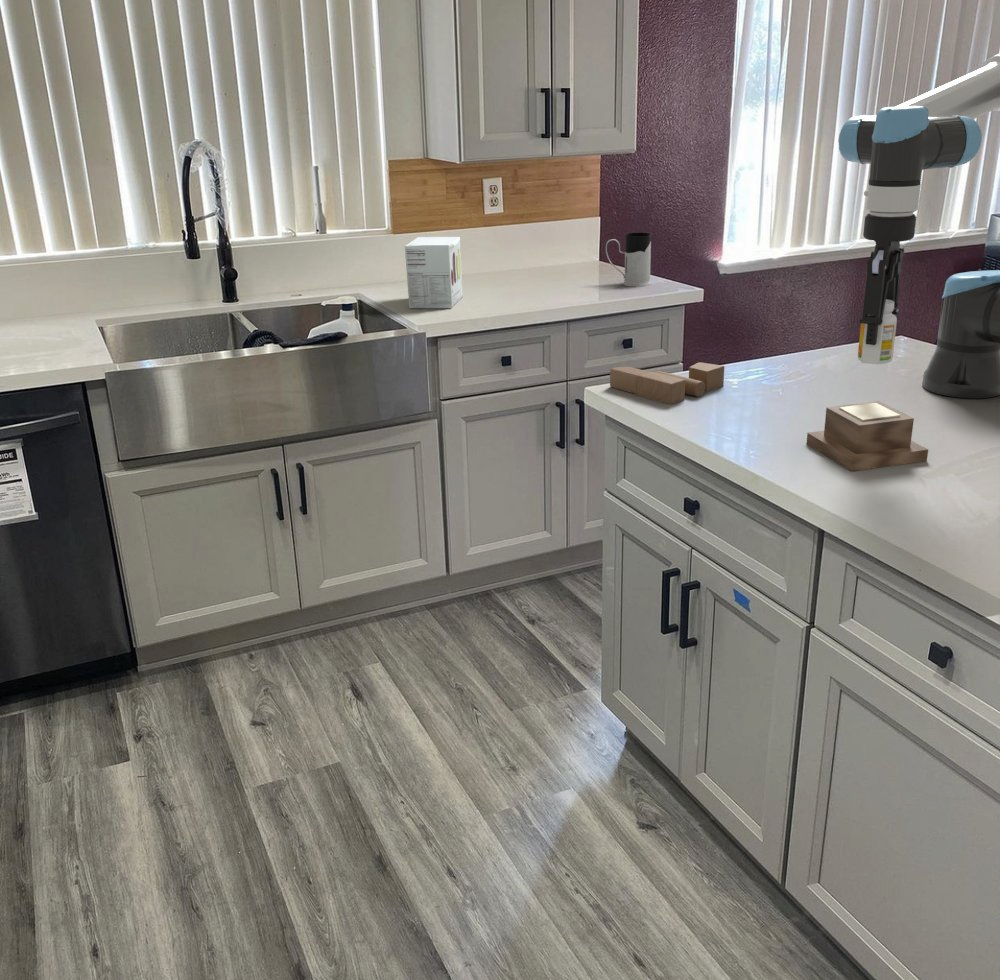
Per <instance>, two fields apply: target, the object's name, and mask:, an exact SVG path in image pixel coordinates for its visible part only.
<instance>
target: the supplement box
mask: <svg viewBox="0 0 1000 980" xmlns="http://www.w3.org/2000/svg"><path fill="white" fill-rule="evenodd" d="M461 251H462V250H461V237H460V236H418V237H416V238H414V239H413V240H412V241H410V242H409V243H407V244H405V245H404V254H405V269H406V280H407V281H406V282H407V293H408V294H407V295H408V307H409V309H452V308H454V306H455V305H457V303H458V302H459V301H460V300H462V298H463V297H464V295H463V294H464V293H463V276H462V275H463V274H462V258H461V257H462V255H461Z"/></svg>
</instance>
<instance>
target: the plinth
mask: <svg viewBox="0 0 1000 980" xmlns="http://www.w3.org/2000/svg"><path fill="white" fill-rule="evenodd" d="M825 409H826V410H825V418H824V429H823V430H818V431H809V432H806V434H807V435H806V444H807V445H808V446H810V447H812V448H813V449H814V450H816V451H817V452H820V453H822V454H823V455H824V456H826V457H827V458H829V459H831V460H833V461H834V462H835V463H837V464H838V465H840V466H842V467H844V468H845V469H847V470H848V471H850V472H856V471H857V472H858V471H862V470H863V471H864V470H871V468H872V469H876V468H877V467H879V468H884V467H883V466H886V467H891V465H893V466H900V465H906V464H914V463H921V462H927V461H928V456H929V448H926V447H925V446H922V445H920V444H919V443H917V442H915V441H913V440H912V436H913V429H914V420H915V418H914V417H912V416H910V415H907V414H906V413H904V412H902V411H900V410H898V409H895V408H893V407H891V406H889V405H887V404H885V403H884V402H881V401H880V400H877V401H868V402H860V403H852V404H851V403H850V404H844V405H835V406H828V407H827V406H826V408H825ZM899 464H900V465H899Z"/></svg>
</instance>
